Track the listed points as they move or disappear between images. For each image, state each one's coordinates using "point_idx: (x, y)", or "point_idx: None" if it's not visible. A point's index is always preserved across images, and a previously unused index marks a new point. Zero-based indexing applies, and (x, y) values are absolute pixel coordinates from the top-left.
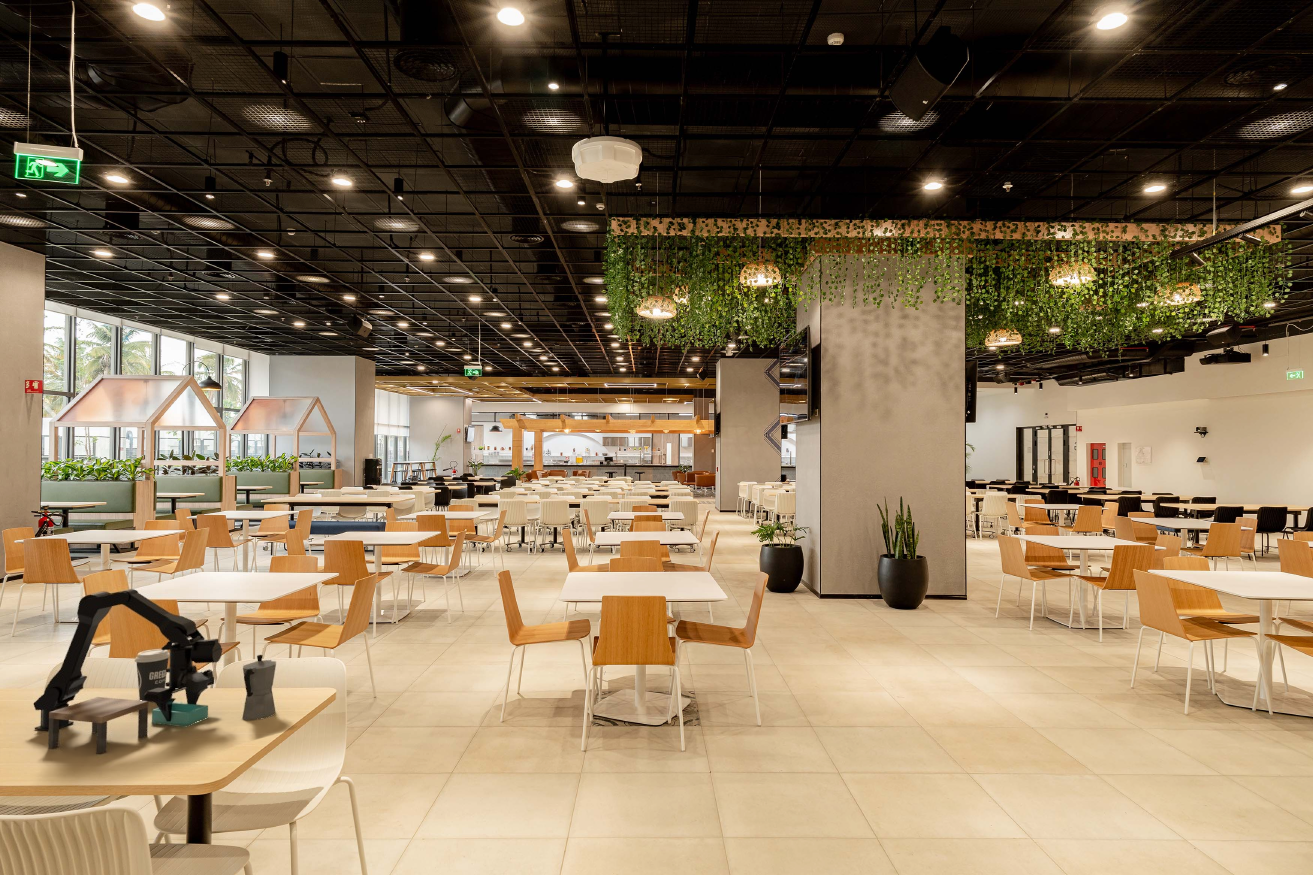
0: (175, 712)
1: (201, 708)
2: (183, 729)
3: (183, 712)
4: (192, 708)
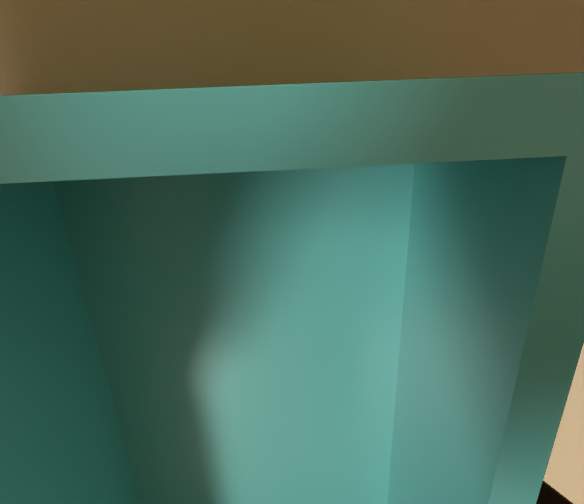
0: (534, 468)
1: (21, 102)
2: (580, 4)
3: (557, 282)
4: (51, 487)
